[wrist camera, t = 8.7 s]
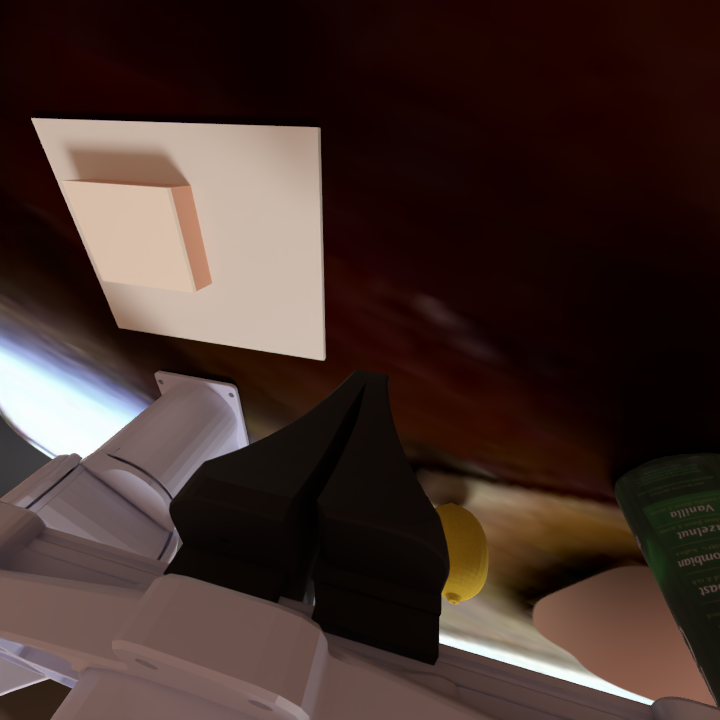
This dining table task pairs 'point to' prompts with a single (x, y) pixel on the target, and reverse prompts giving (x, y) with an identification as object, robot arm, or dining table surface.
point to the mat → (218, 225)
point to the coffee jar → (682, 545)
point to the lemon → (463, 553)
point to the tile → (142, 232)
